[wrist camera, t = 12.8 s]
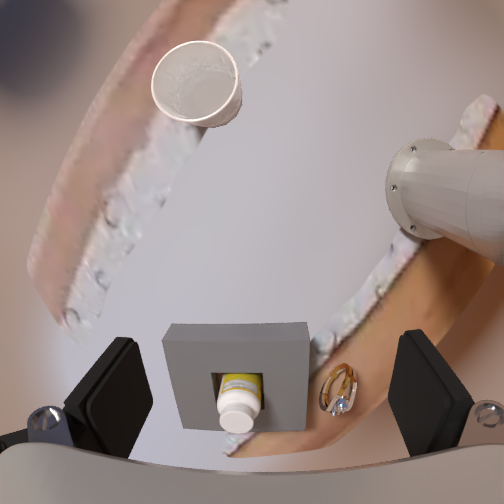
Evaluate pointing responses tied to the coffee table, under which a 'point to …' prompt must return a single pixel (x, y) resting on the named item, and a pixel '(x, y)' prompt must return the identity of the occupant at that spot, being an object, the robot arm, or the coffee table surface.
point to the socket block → (240, 371)
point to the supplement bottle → (239, 401)
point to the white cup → (198, 84)
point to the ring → (340, 404)
